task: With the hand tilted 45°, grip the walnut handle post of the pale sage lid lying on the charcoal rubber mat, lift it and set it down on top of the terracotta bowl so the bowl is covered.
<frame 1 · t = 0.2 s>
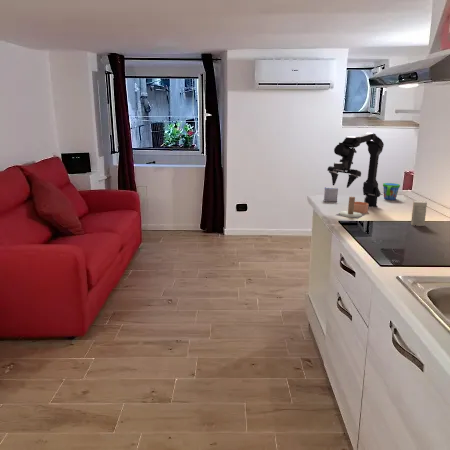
hand: (340, 186, 243), 15 cm above the countertop, tool tilted 15°, fingers open, 9 cm apart
snack cup: (389, 199, 291), on the countertop
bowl: (358, 211, 251), on the countertop
lid: (350, 214, 241), point 1 cm above the countertop, touching mat
mat: (350, 215, 241), on the countertop
skincare box: (417, 225, 225), on the countertop
medicine box: (330, 201, 280), on the countertop
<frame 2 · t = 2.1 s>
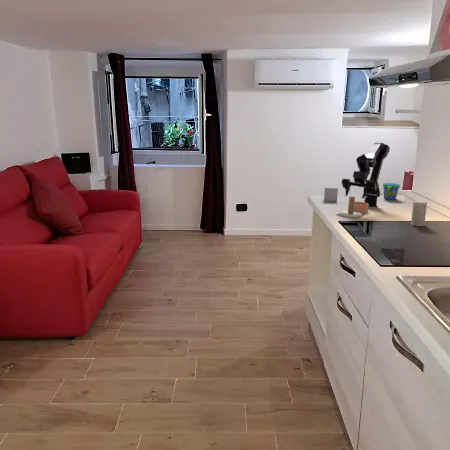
hand: (354, 196, 241), 10 cm above the countertop, tool tilted 45°, fingers open, 9 cm apart
nothing on the countertop moved.
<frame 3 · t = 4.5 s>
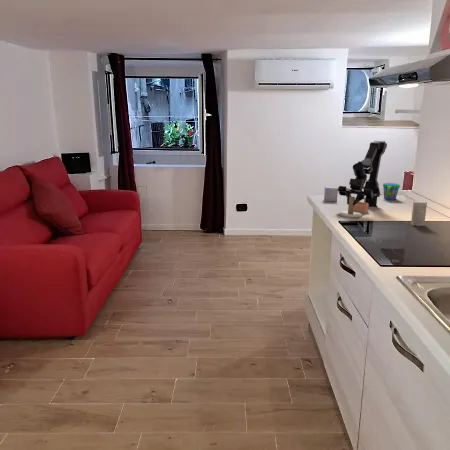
hand: (350, 204, 238), 7 cm above the countertop, tool tilted 45°, fingers closed on lid, 3 cm apart
lid: (350, 214, 241), point 1 cm above the countertop, touching gripper, mat
everything else where it was.
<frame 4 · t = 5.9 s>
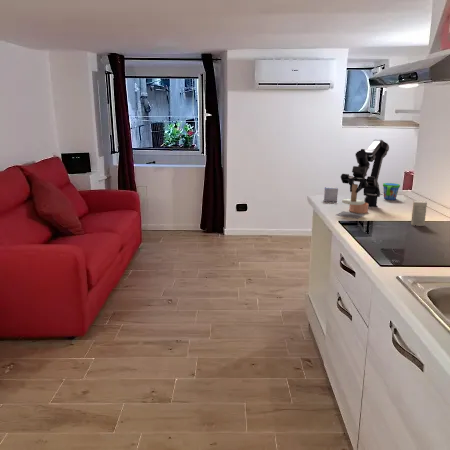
hand: (353, 192, 239), 13 cm above the countertop, tool tilted 45°, fingers closed on lid, 3 cm apart
lid: (353, 202, 241), point 7 cm above the countertop, touching gripper
everything else where it was.
when the fingers open (12 cm above the countertop, at t = 7.3 s): lid drops 1 cm, resting on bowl.
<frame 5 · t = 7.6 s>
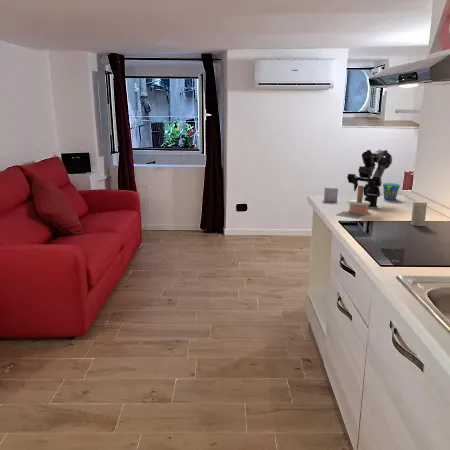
hand: (359, 191, 247), 12 cm above the countertop, tool tilted 45°, fingers open, 6 cm apart
lid: (359, 203, 250), point 5 cm above the countertop, touching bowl
everything else where it was.
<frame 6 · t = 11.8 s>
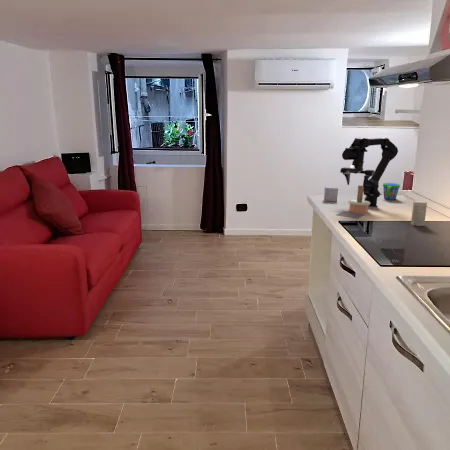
hand: (355, 186, 259), 13 cm above the countertop, tool pointing down, fingers open, 9 cm apart
nothing on the countertop moved.
at the end: lid 0.0 cm from the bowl (horizontally); lid point 5.0 cm above the countertop; lid tilted 0° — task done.
